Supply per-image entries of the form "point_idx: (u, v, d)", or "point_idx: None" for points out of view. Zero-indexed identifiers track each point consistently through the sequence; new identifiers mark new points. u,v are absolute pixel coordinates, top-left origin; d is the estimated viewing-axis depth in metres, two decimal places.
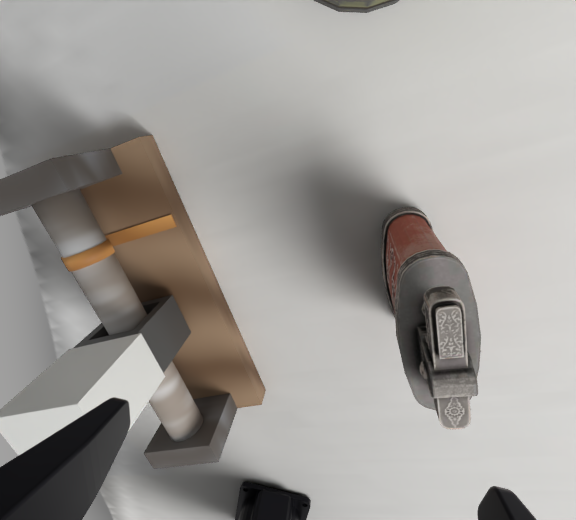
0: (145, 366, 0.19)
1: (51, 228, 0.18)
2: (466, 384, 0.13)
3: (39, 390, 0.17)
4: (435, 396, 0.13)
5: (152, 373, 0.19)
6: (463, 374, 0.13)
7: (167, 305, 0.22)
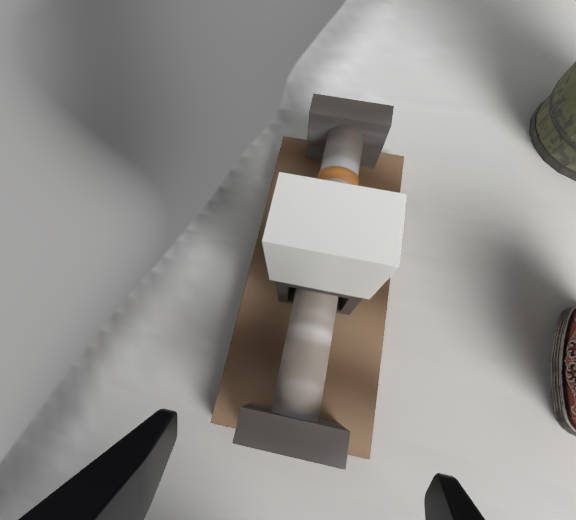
0: None
1: (342, 144, 0.21)
2: None
3: None
4: None
5: None
6: None
7: None
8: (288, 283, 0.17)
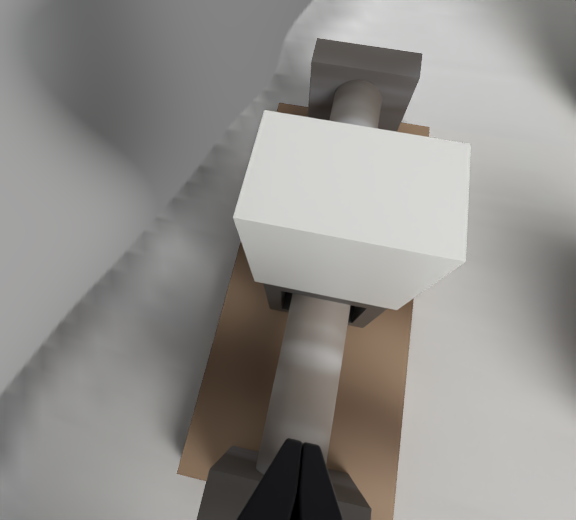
0: None
1: (354, 103, 0.16)
2: None
3: None
4: None
5: None
6: None
7: None
8: (281, 286, 0.12)
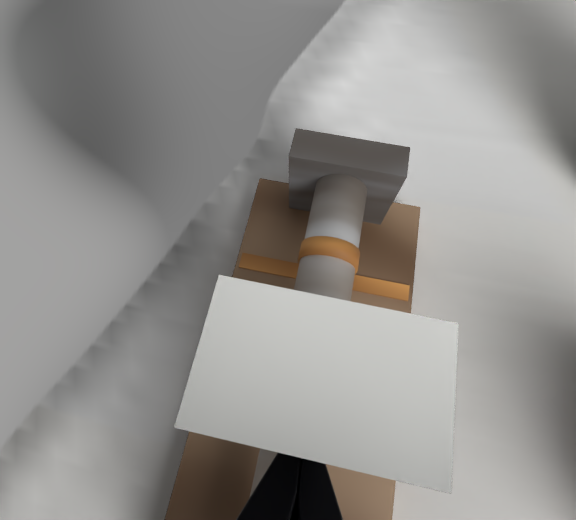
0: None
1: (335, 202, 0.15)
2: None
3: None
4: None
5: None
6: None
7: None
8: None
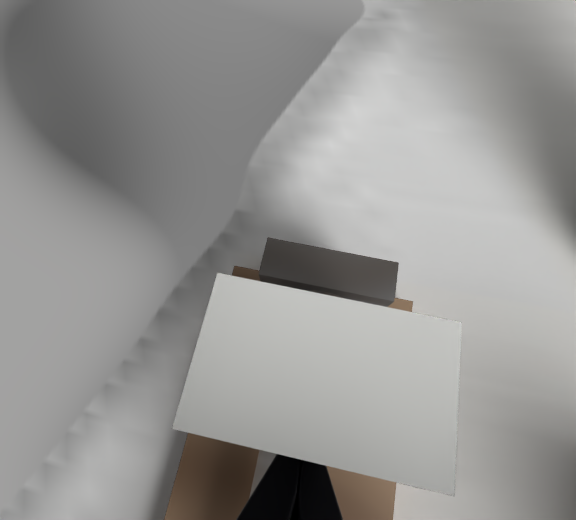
0: None
1: None
2: None
3: None
4: None
5: None
6: None
7: None
8: None
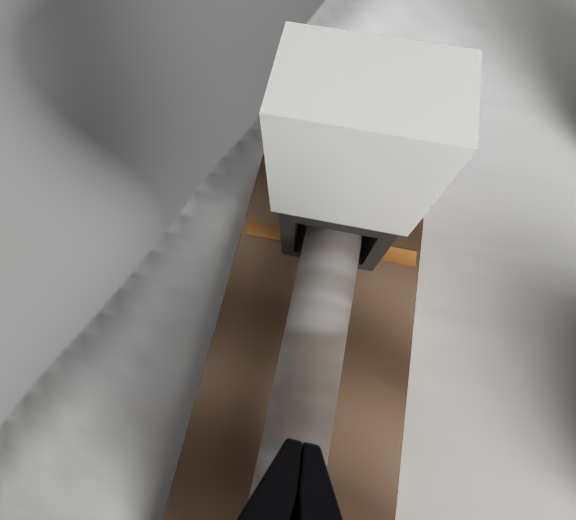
0: None
1: None
2: None
3: None
4: None
5: None
6: None
7: None
8: (296, 215, 0.13)
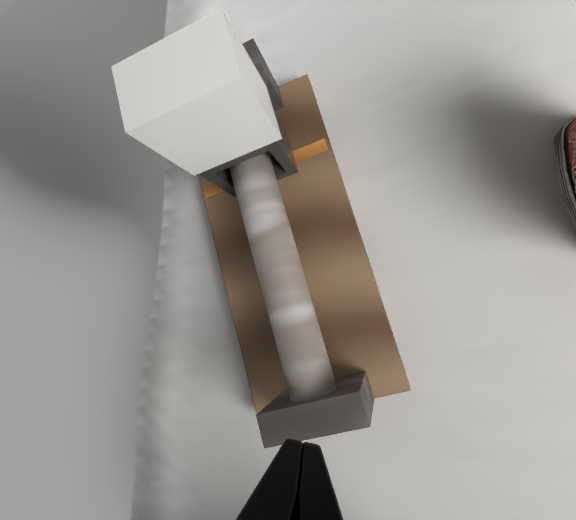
0: (268, 103, 0.17)
1: None
2: None
3: None
4: None
5: (273, 116, 0.17)
6: None
7: (281, 125, 0.21)
8: (209, 168, 0.18)
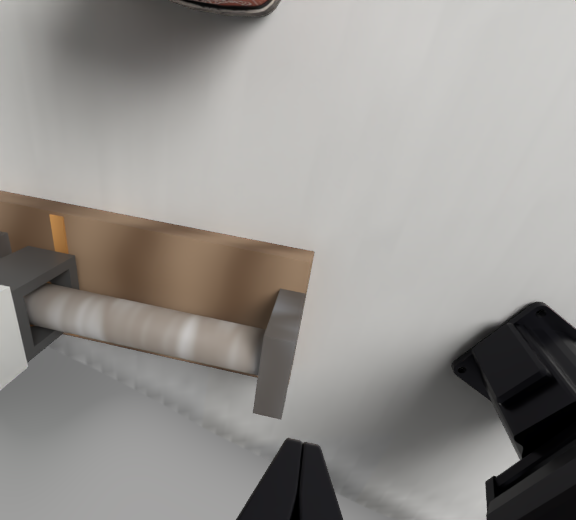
0: None
1: None
2: None
3: None
4: None
5: None
6: None
7: (18, 252, 0.20)
8: (24, 353, 0.18)
